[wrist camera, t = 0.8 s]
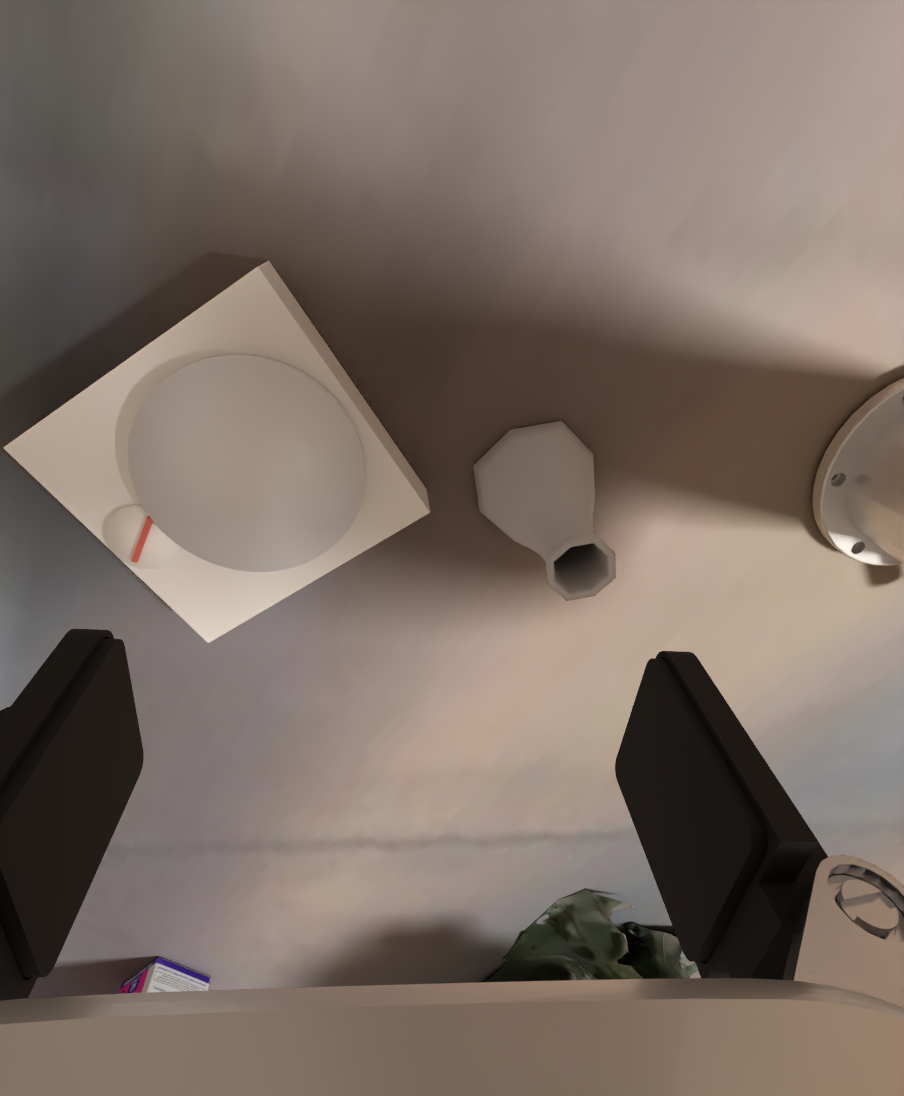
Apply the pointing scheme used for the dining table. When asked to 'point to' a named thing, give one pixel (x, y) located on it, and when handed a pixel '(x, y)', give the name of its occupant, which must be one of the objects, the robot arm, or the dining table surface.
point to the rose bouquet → (591, 947)
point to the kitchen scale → (227, 459)
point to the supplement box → (166, 979)
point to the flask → (547, 504)
